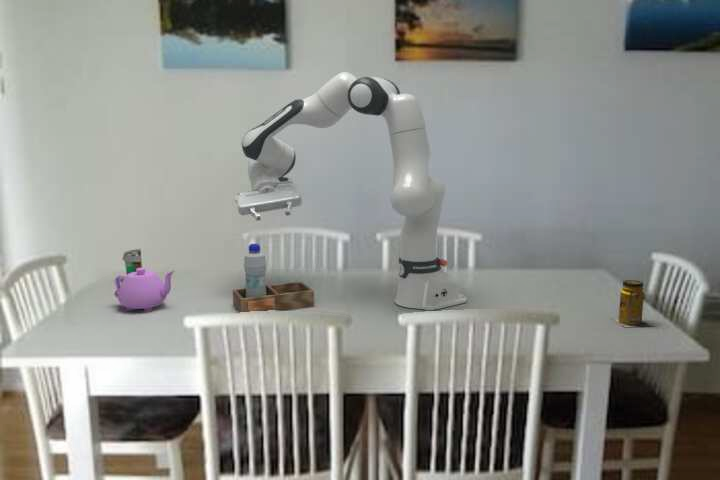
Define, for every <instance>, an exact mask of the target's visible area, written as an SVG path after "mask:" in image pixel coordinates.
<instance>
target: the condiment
mask: <svg viewBox="0 0 720 480" xmlns="http://www.w3.org/2000/svg"><path fill="white" fill-rule="evenodd" d="M644 298H645V293H644V283H643V281H640V280H635V279H625V280H623V281H622V289H621V290H620V298H619V309H618V318H613V321H615V322H616V323H618V324H619V325H620V326H623V327H624V328H638V327H639V328H640V327H654V326H655V325H654V324H652V323H650V322H648V321H647V320H645V319H643V311H644V309H643V308H644V300H645V299H644Z"/></svg>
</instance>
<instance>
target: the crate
mask: <svg viewBox="0 0 720 480" xmlns="http://www.w3.org/2000/svg"><path fill="white" fill-rule="evenodd" d="M266 295H267V296H260V297H251V298H246V287H240V288H234V289H232V305H233V306H235V309H236V311H237V312H238V311H239V312H250V311H268V310H283V311H289V310H290V311H291V310H297V309H304V308H311V307H315V290H314V289H312V288H311V287H310V286H309V285H308V284H306V283H304V282H303V281H294V282H293V281H292V282H286V283H277V284H268V285H266ZM239 312H238V313H239Z"/></svg>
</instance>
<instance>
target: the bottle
mask: <svg viewBox="0 0 720 480" xmlns="http://www.w3.org/2000/svg"><path fill="white" fill-rule="evenodd" d="M243 268H244V271H245V288H246V298H251V297H260V296H267V295H266V286H267V285H266V284H267V282H266V270H267V261H266V255H265V253H264V252H261V246H260V244H259V243H250V244H249V245H248V252H247V253H245V254H244V259H243Z"/></svg>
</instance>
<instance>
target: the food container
mask: <svg viewBox="0 0 720 480" xmlns="http://www.w3.org/2000/svg"><path fill="white" fill-rule="evenodd" d="M121 260H122V261H124V266H125V271H126V275H128V274H129V273H132V272H136V269H137V268H143V263H142V262H143V261H142V250H141V248H136V249H130V250H126V251H125V252H123V255H122V259H121Z"/></svg>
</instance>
